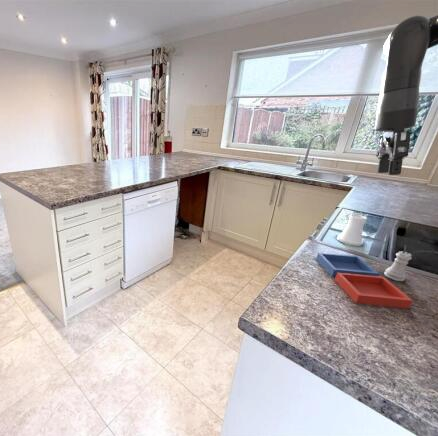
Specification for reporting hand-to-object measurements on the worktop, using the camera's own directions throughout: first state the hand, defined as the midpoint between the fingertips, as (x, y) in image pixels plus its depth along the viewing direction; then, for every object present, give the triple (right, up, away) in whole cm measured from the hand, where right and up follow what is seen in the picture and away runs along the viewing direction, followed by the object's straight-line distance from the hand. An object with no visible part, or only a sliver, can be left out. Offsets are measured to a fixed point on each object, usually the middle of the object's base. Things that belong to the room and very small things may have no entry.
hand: (388, 173), depth 67 cm
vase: (+10, -21, +25) cm, 34 cm away
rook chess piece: (+5, -29, +4) cm, 30 cm away
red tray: (-8, -32, -3) cm, 33 cm away
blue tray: (-6, -28, +7) cm, 29 cm away
